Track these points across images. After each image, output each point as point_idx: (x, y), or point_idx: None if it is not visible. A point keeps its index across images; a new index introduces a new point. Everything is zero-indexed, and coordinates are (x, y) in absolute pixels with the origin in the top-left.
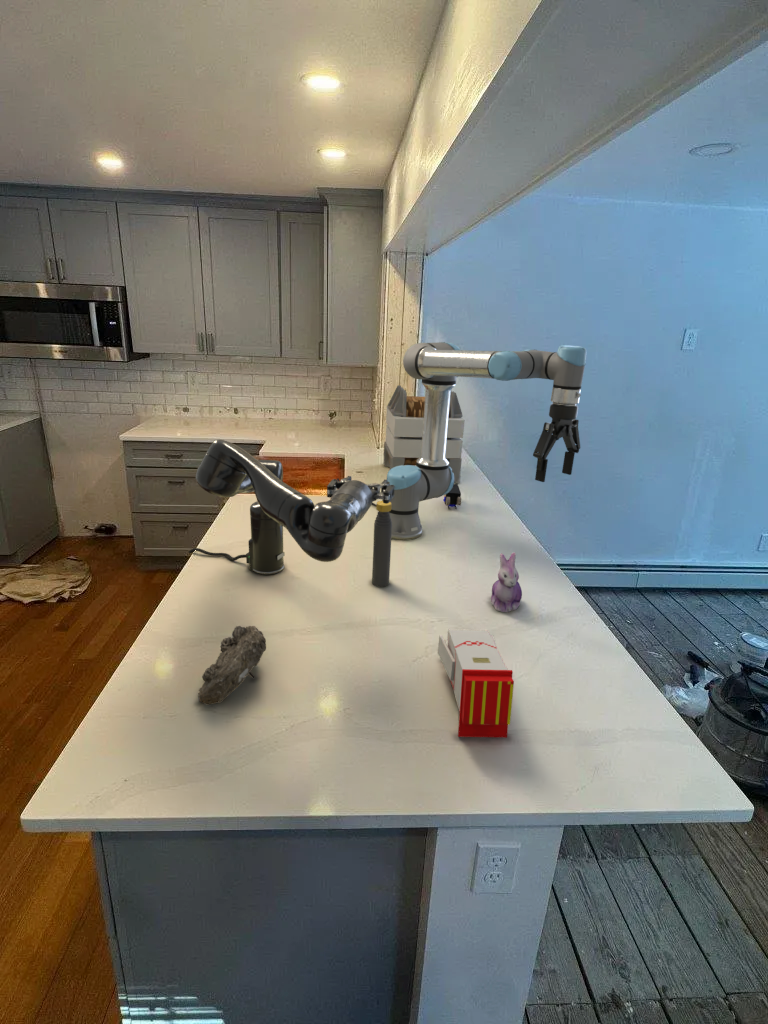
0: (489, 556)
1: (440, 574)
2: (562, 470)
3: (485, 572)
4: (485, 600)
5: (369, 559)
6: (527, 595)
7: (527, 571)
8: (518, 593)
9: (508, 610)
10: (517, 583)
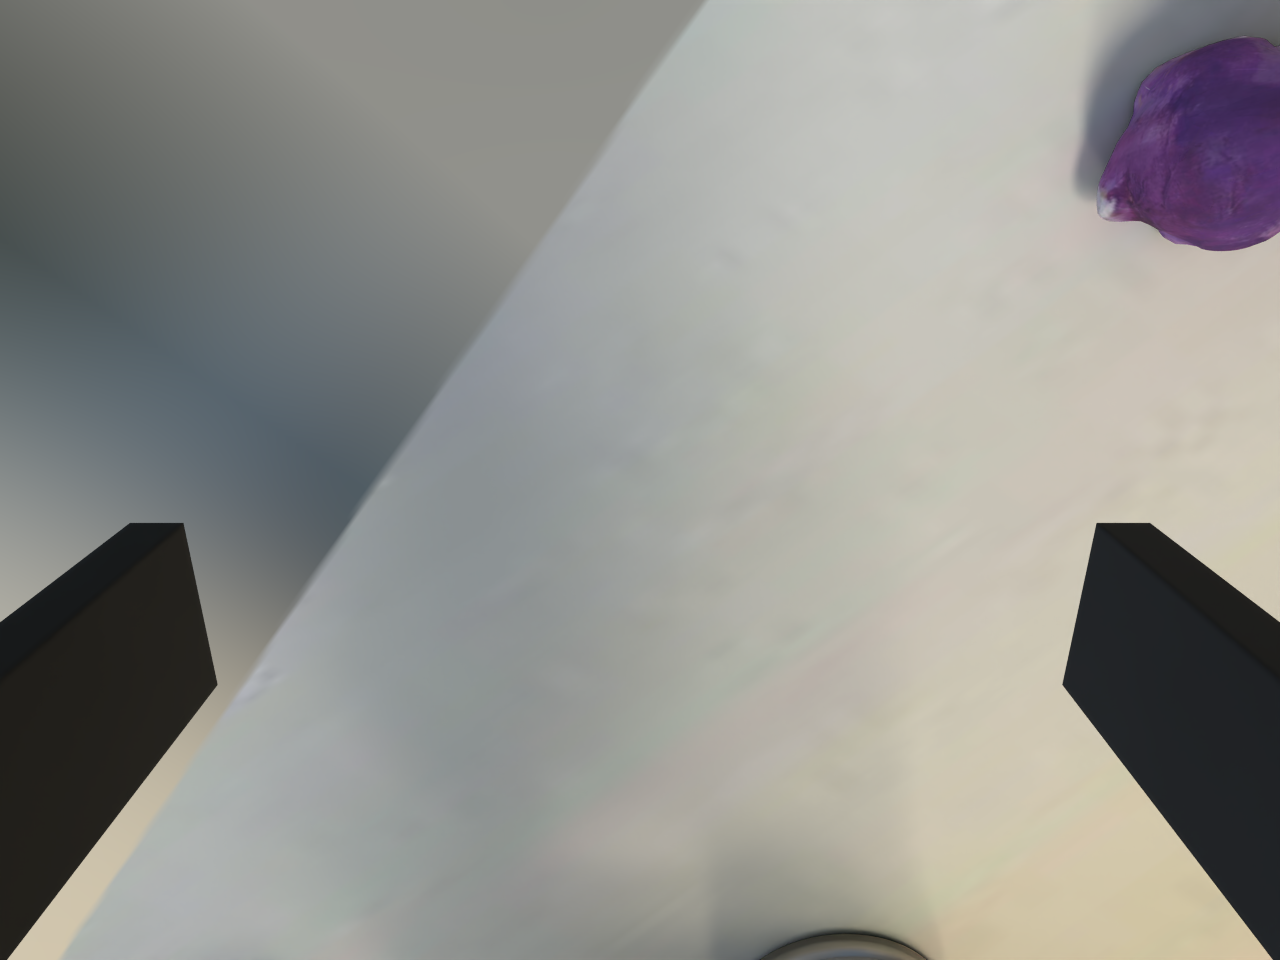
0: (699, 595)
1: None
2: (191, 711)
3: (906, 475)
4: None
5: None
6: (990, 121)
7: (688, 335)
8: (1270, 45)
9: None
10: (1258, 88)
